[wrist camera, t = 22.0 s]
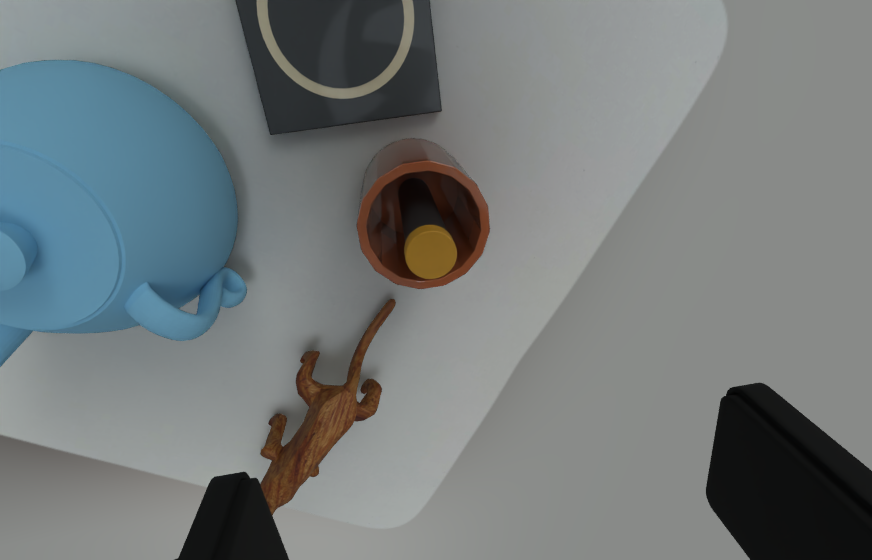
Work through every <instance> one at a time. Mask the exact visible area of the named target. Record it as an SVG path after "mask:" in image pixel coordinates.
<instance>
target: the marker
mask: <svg viewBox="0 0 872 560" xmlns="http://www.w3.org/2000/svg"><path fill="white" fill-rule="evenodd" d="M398 198H399V205H400V212H401V218H402V225H403V232H404V239H405V246H404V253H405V260H406V263H407V266H408V267H409V269H410V270H411V271H412V272H413V273H414V274H415V275H417V276H419V277H421V278H425V279H436V278H439V277H442V276H444V275H445V274H447V273H448V272H449V271H450V270H451V269H452V268H453V266H454V264H455V262H456V258H457V249H456V246H455V243H454V241H453V239H452V237H451V235H450V234H449V233H448V231H447V230H446V227H445V225H444V223H443V220H442V218H441V215H440V213H439V211H438V208H437V206H436V204H435V201H434V199H433V196H432V194H431V192H430V189H429V187H428V185H427V184H426V183H425V182H424V181H423V180H421V179H418V178H410V179H407V180H405V181H404V182H403V183H402V184H401V185H400V187H399V190H398Z"/></svg>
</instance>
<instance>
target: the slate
mask: <svg viewBox="0 0 872 560" xmlns="http://www.w3.org/2000/svg"><path fill="white" fill-rule="evenodd" d="M236 4H237V8H238V12H239V16H240V20H241V23H242V27H243V31H244V35H245V39H246V43H247V47H248V50H249V54H250V58H251V62H252V66H253V70H254V74H255V78H256V81H257V85H258V89H259V93H260V97H261V101H262V105H263V108H264V112H265V116H266V120H267V124H268V128H269V132H270V135H275V134H282V133H289V132H296V131H303V130H310V129H318V128H325V127H332V126H339V125H346V124H354V123H361V122H368V121H375V120H382V119H389V118H397V117H404V116H411V115H418V114H425V113H433V112H440V111H442V109H441V99H440V90H439V81H438V72H437V63H436V54H435V45H434V36H433V27H432V18H431V9H430V0H236Z"/></svg>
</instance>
